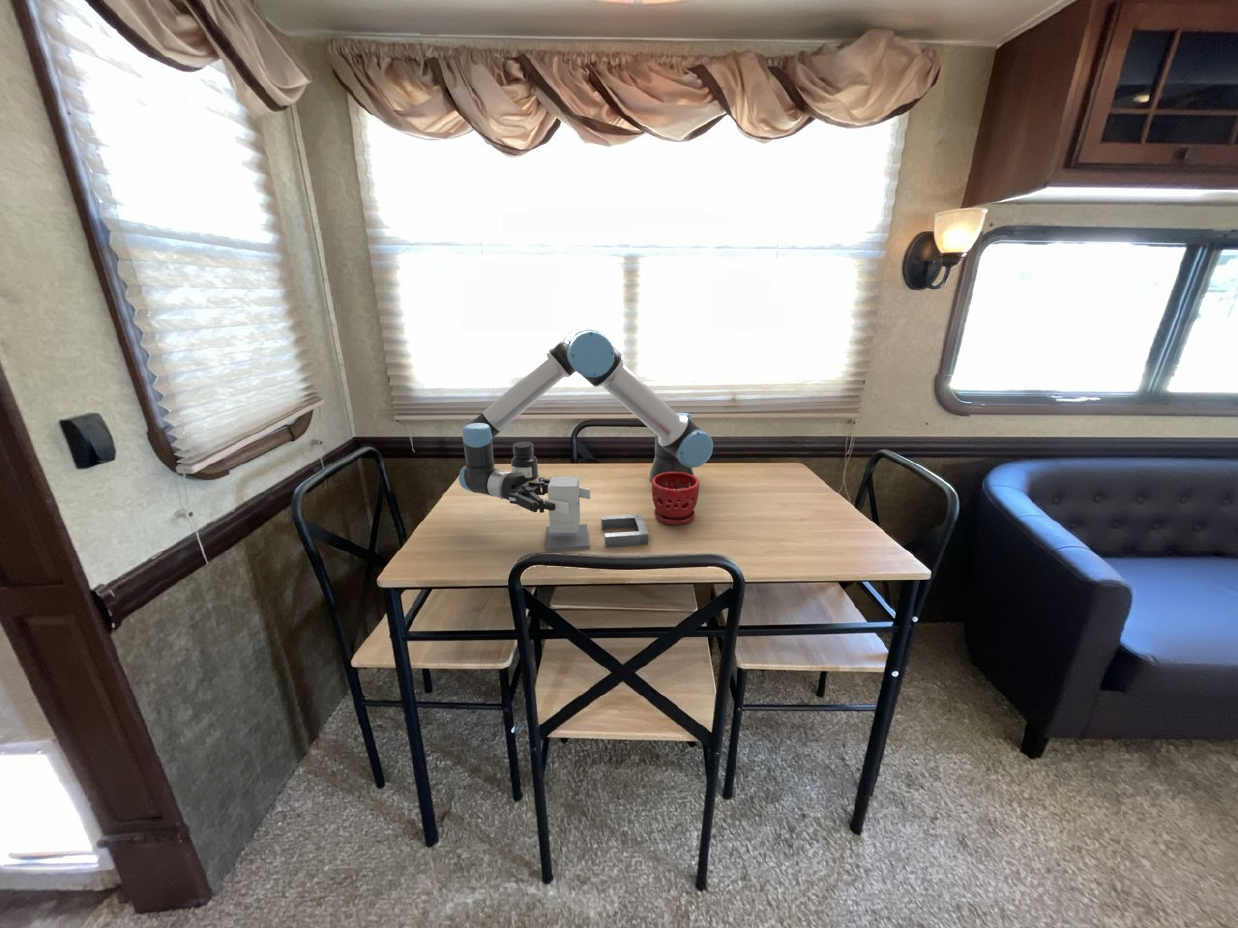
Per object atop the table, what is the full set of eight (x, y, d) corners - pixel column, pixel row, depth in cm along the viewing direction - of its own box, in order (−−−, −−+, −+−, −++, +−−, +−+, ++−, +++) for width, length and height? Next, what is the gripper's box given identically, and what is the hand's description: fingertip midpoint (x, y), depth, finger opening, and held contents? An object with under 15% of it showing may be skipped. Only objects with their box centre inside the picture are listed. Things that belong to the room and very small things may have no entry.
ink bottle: (506, 478, 171) (503, 445, 167) (522, 470, 178) (519, 439, 174) (528, 483, 167) (526, 449, 163) (544, 475, 174) (542, 442, 170)
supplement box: (578, 532, 124) (576, 486, 120) (549, 532, 124) (546, 486, 120) (581, 520, 131) (579, 475, 127) (553, 520, 131) (550, 475, 127)
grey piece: (640, 523, 137) (640, 514, 136) (648, 544, 126) (648, 534, 125) (601, 526, 136) (601, 516, 135) (605, 547, 125) (605, 537, 124)
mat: (586, 527, 135) (586, 524, 135) (589, 548, 124) (589, 545, 124) (546, 529, 134) (546, 526, 134) (545, 551, 123) (545, 548, 123)
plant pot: (643, 513, 143) (643, 475, 139) (682, 505, 148) (684, 468, 144) (664, 532, 132) (665, 491, 128) (706, 523, 137) (708, 483, 133)
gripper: (535, 485, 144) (601, 499, 134) (481, 514, 125) (554, 532, 115) (533, 460, 141) (601, 473, 131) (478, 486, 123) (552, 503, 113)
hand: (579, 501), depth 123 cm, fingers closed on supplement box, 9 cm apart
